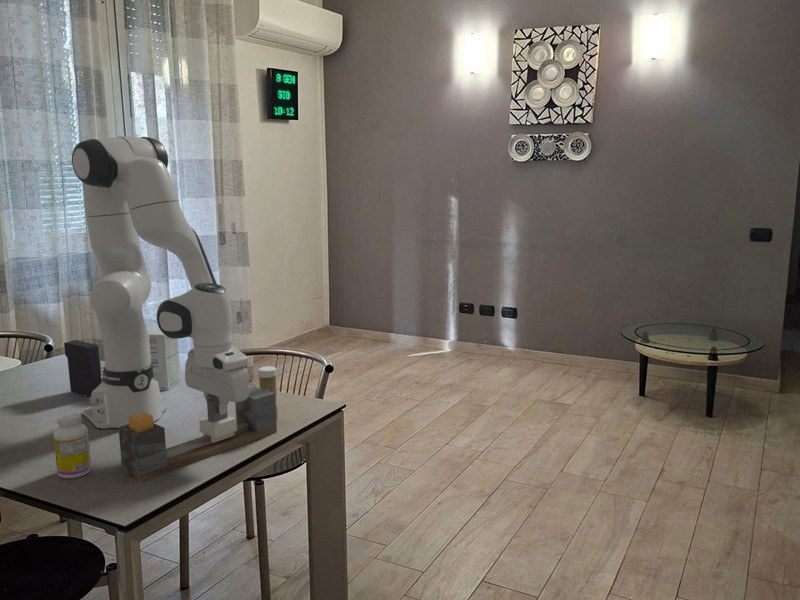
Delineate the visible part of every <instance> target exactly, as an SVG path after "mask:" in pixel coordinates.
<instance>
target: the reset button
mask: <svg viewBox="0 0 800 600" xmlns="http://www.w3.org/2000/svg"><path fill="white" fill-rule="evenodd" d="M128 420H129V429H130V430H132V431H134V432H136V433H139V432H142V431H145V430H148V429H152V428H154V424H155V423H154V422H153V416H152V415H150V414H147V413H145V412H142V413H139V414H136V415H132V416H129V417H128ZM153 423H154V424H153Z"/></svg>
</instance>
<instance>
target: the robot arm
mask: <svg viewBox="0 0 800 600" xmlns="http://www.w3.org/2000/svg"><path fill="white" fill-rule="evenodd" d="M71 165H72V169H73V172H74V174H75V175H76V177H77V178H78V179H79V181H81V182H82V183H83V184H84V188H83V189H84V192H83V196H84V200H83V201H84V210H85V211H84V212H85V216H86V217H85V218H86V225H87V229H88V237H89V242H90V243H89V244H90V247H91V250H92V252H93V253H94V254H95V255H94V256H95V257H96V260H97V262H98V265H99V268H100V271H101V274H102V276H101V277H99V279H98V280H96V281H95V282H94V285H93V286H92V289H91V291H90V294H89V303H90V306H91V308H92V310H93V311H94V314H95V317H96V320H97V324H98V327H99V330H100V334H101V339H102V347H103V358H104V359H103V361H104V366H103V367H101V372H102V376H101V378H102V382H101V383H100V384H99V385H98V386H97V387H96V388H95V389H94V390H93V391H92V393H91V398H90V397H88V403H89V406H88V407H86V408H84V409H82V413H83V414H82V415H83V416H84V415H85V416H86V417H87V418H88V419H89V420H90V421H91V422H92V423H93V424H94V425H95V426H96V427H97V428H96V429H98V428H101V430H102V429H113V428H116V429H119V427H120V426H124V425H127V424H129V420H128V417H129V416H132V415H136V414H139V413H142V412H145V413H147V414H150V415H152V416H153V423H154V422H155V421H158V420H159V419H160V418H161V417H162V415H163V413H164V412H166V410H167V406H166V405H164V404H162V397H161V390H159V385H158V382H157V381H156V380H154V379H153V377H154V368H153V363H151V355H150V341H149V333H148V331H147V329H146V328H147V326H146V324H145V319H144V315H143V304H144V303H145V302H146V301H147V300H148V299H149V297H150V294H151V291H152V281H151V278H150V276H149V273H148V268H147V266H146V265H147V264H146V262H145V259H144V255H143V253H142V248H141V246H140V241H139V237H140V239H142V240H143V241H145V242H146V243H148V244H150V245H151V246H154V247H158V248H162V249H164V250H167V251H168V252H171V254H173V255H175V256H176V257H177V258H178V259H179V261H180V262H181V265H182V267H183V269H184V270H183V271H184V272H185V275H186V277H187V280H188V282H189V285H190V290H189V291H186V292H185V293H183V294H180V295H176V296H174V297H170V298H168V299H166V300H164V301H162V302H161V303H160V304H159V306H158V308H157V310H156V311H157V312H156V322H157V327H159V328H160V330H161V332H162V333H163V334H164V335H166V336H167V337H169V338H172V339H178V340H179V339H185V338H192V340H193V344H192V345H193V348H191V349H190V350H189V351H188V353H187V358H186V361H185V369H184V370H185V371H184V375H185V376H184V378H185V379H184V380H185V384H186V386H187V387H188V388H191V389H193V390H196V391H200V392H202V393H203V397H204V399H205V401H206V403H207V400H208V399H210V395H214V396H217V397H218V400H219V401H220V404H219V406H217V413H218V414H220V415H223V414H226V413H227V414H228V405H229V403H230V402H232V403H238V402H241V401H244V400H246V399H247V398H248V396H249V388H250V376H249V375H250V374H249V371H248V369H247V367H246V366H249V357H248V356H247V355H246V354H244V353H243V352H241V350H239V349H238V347H237V346H235V345H234V338H233V337H234V336H233V334H232V326H233V312H232V311H233V310H232V302H231V298H230V295H229V292H228V290H227V288H226V287H224V286H223V285H222V284H221V285H220V284H217V280H216V279H215V276H214V273H213V270H212V268H211V265H210V263H209V259H208V257H207V255H206V251H205V249H204V247H203V244H202V242H201V240H200V237H199V236H198V234H197V232H196V231H195V229H193V228H192V226H190V224H189V222H188V221H187V219H186V217H185V215H184V212H183V210H182V207H181V204H180V201H179V197H178V193H177V190H176V187H175V185H174V181H173V180H172V177H171V175H170V172H169V170H168V167H169V156H168V152H167V149H166V147H165V146H164V144H163V143H162V142H161V141H160V140H159V139H156V138H153V137H150V136H149V137H148V136H141V137H137V136H116V137H107V138H100V139H99V138H98V139H96V138H92V139H87V140H83V141H81V142H79V143H77V144H76V145H75V147H74V148H73V151H72V155H71ZM102 369H103V370H102ZM85 416H84V417H85ZM86 417H85V418H86ZM87 418H86V419H87ZM88 419H87V420H88ZM89 420H88V421H89ZM90 421H89V422H90ZM91 422H90V423H91ZM92 423H91V424H92ZM93 424H92V425H93ZM94 425H93V426H94ZM95 426H94V427H95Z"/></svg>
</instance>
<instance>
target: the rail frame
mask: <svg viewBox="0 0 800 600" xmlns="http://www.w3.org/2000/svg"><path fill="white" fill-rule="evenodd" d="M235 418H236V420H237V431H235V432H234V436H232V437H229V438H226V439H223V440H221V441H218V442H215V443H211V436H209V435H205V436H203V435H202V436H200V437H197V438H193V439H192V440H188V441H185V442H182V443H178V444H177V445H174V446H170V447H167V445H166V444H167V443H166V432H165V431H166V430H165V427H163V426H161V425H159V424H157V423H154V422H153V424H154V428H152V429H148V430H145V431H142V432H139V433H136V432H134V431H132V430H130V429H129V424H127V425H124V426H120V427H119V428H118V435H119V449H120V450H119V451H120V460H121V461H120V462H121V471H122V472H123V473H125V474H127V475H129V476H131V477H132V478H134V479H136V480H138V481H140V482H144V481H147V480H150V479H153V478H155V477H159V476H160V475H164V474H166V473H169V472H171V471H175V470H177V469H180V468H183V467H186V466H188V465H191V464H193V463H195V462H196V463H197V462H199V461H201V460H204V459H208V458H210V457H213V456H215V455H217V454H221V453H224V452H226V451H229V450H231V449H234V448H236V447H237V448H238V447H240V446H242V445H245V444H248V443H251V442H253V441H256V440H259V439H262V438H264V437H268V436H270V435H273V434H276V433H278V428H277V419H276V398H275V393H273V392H270V391H267V390H264V389H261V388H260V387H257V386H252V387H249V396H248V398H247V399H246V400H244V401H241V402H238V403H235ZM272 433H273V434H272Z"/></svg>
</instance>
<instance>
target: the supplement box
mask: <svg viewBox="0 0 800 600" xmlns="http://www.w3.org/2000/svg"><path fill="white" fill-rule="evenodd" d="M146 329H147V331H148V333H149V341H150V355H151V363H153V368H154V377H153V379H154V380H156V381H157V382H158V385H159V391H169V390H171V389H172V388H173V387H174V386H176V385H177V384H178V383H180V382H181V381H182V376H181V364H180V361H181V360H180V352H179V349H180V346H179V339H172V338H169V337H167V336H166V335H164V334H163V333H162V332H161V330H160V328H159V326H149V327H146Z"/></svg>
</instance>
